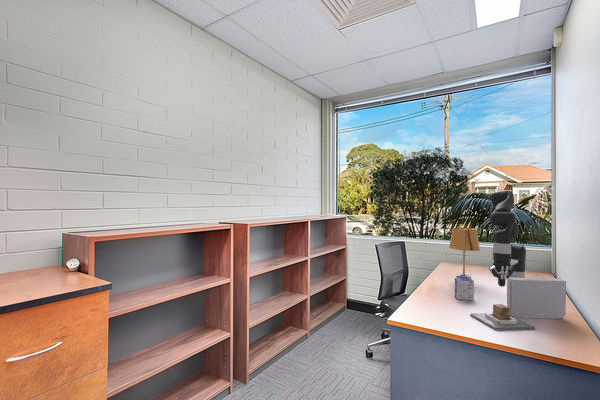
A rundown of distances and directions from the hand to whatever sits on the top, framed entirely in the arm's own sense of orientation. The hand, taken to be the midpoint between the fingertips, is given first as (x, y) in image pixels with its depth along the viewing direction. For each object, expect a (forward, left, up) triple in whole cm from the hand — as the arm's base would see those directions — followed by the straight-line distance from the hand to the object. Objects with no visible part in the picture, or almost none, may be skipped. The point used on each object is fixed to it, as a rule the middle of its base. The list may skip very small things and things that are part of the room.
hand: (501, 286), depth 150 cm
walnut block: (0, 0, -17) cm, 17 cm away
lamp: (-29, -71, -18) cm, 79 cm away
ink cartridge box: (-5, -36, -18) cm, 41 cm away
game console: (-25, -6, -18) cm, 31 cm away
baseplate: (0, 0, -18) cm, 18 cm away
